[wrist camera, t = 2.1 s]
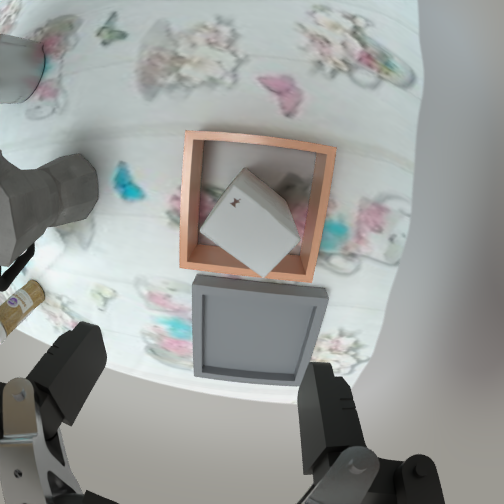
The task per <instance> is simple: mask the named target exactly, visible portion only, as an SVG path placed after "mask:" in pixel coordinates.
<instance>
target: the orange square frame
mask: <svg viewBox="0 0 504 504" xmlns="http://www.w3.org/2000/svg"><path fill="white" fill-rule="evenodd" d="M204 140H215V141H229V142H240V143H251V144H260V145H269V146H277V147H284V148H291V149H298V150H304V151H311V152H316V159H315V166H314V173H313V180H312V186H311V193H310V199H309V205H308V211H307V217H306V223H305V229H304V235H303V240H302V246H301V251H300V256H299V255H290V254H287V255H286V256H285V257H284V258H283V259H282V260H281V261H280V262H279V263H278V264H277V265H276V266H275V267H274V268H273V269H272V270H271V271H270V272H269V273H268V275H267V276H266V277H265V278H269V279H279V280H289V281H298V282H309V283H312V280H313V275H314V271H315V266H316V262H317V257H318V252H319V247H320V242H321V237H322V232H323V227H324V222H325V217H326V211H327V206H328V200H329V194H330V188H331V182H332V176H333V170H334V163H335V156H336V149H337V147H332V146H327V145H321V144H315V143H310V142H303V141H297V140H290V139H283V138H276V137H268V136H259V135H249V134H239V133H226V132H210V131H187V130H185V140H184V153H183V167H182V184H181V206H180V268H184V269H192V270H200V271H208V272H216V273H225V274H233V275H242V276H251V277H260V278H262V277H261V276H260V275H258V274H257V273H256V272H254V271H253V270H252V269H250V268H249V267H247V266H246V265H245V264H243V263H242V262H240V261H239V260H238V259H236V258H235V257H233V256H232V255H231V254H229V253H228V252H226V251H225V250H224V249H222V248H221V247H219V246H210V245H201V244H198V221H199V203H200V187H201V173H202V160H203V148H204Z"/></svg>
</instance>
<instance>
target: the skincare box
mask: <svg viewBox="0 0 504 504" xmlns="http://www.w3.org/2000/svg"><path fill="white" fill-rule="evenodd" d="M200 232H201V233H202V234H203V235H205V236H206V237H207V238H209V239H210V240H211V241H213V242H214V243H215V244H217V245H218V246H220V247H221V248H222V249H224V250H225V251H226V252H228V253H229V254H231V255H232V256H233V257H235V258H236V259H238V260H239V261H240V262H242V263H243V264H245V265H246V266H247V267H249V268H250V269H252V270H253V271H254V272H256V273H257V274H258V275H260V276H261V277H262V278H265V277H266V276H267V275H268V273H269V272H270V271H271V270H272V269H273V268H274V267H275V266H276V265H277V264H278V263H279V262H280V261H281V260H282V259H283V258H284V257H285V256H286V255H287V254H288V253H289V252H290V251H291V250H292V249H293V248H294V247H295V246H296V245H297V244H298V243H299V241H300V236H299V234H298V231H297V228H296V226H295V223H294V220H293V218H292V215H291V212H290V210H289V207H288V205H287V202H286V200H285V199H283V198H282V197H281V196H280V195H279V194H277V193H276V192H275V191H274V190H272V189H271V188H270V187H269V186H268V185H266V184H265V183H264V182H263V181H261V180H260V179H259V178H258V177H256V176H255V175H254V174H252V173H251V172H250V171H249V170H247V169H246V168H243V169H242V171H241V172H240V173H239V174H238V175H237V177H236V178H235V179H234V180H233V182H232V183H231V184H230V185H229V187H228V188H227V189H226V191H225V192H224V193H223V195H222V196H221V197H220V199H219V200H218V202H217V203H216V205H215V206H214V208H213V209H212V211H211V213H210V214H209V216H208V217H207V219H206V220H205V222H204V223H203V225H202V226H201V228H200Z"/></svg>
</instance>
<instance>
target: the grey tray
mask: <svg viewBox="0 0 504 504" xmlns="http://www.w3.org/2000/svg"><path fill="white" fill-rule="evenodd" d="M328 300H329V298H328V295H327V293H326V290H325V288H316V287H306V286H295V285H285V284H276V283H266V282H257V281H248V280H239V279H230V278H222V277H213V276H205V275H196V277H195V279H194V281H193V283H192V333H193V364H194V376H196V377H202V378H209V379H216V380H224V381H232V382H241V383H252V384H264V385H279V386H300V385H301V382H302V379H303V377H304V374H305V371H306V369H307V366H308V364H309V362H310V359H311V356H312V353H313V350H314V347H315V343H316V340H317V337H318V334H319V331H320V327H321V324H322V321H323V317H324V314H325V311H326V307H327V304H328Z"/></svg>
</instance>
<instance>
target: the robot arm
mask: <svg viewBox="0 0 504 504" xmlns="http://www.w3.org/2000/svg"><path fill="white" fill-rule="evenodd" d="M42 46H43V43H39V42H35V41H32V40H28V39H23V38H19V37H15V36H10V35H5V34H0V104H12V103H21V102H23V101H25V100H26V99H27V98H29V96H30V95H31V94H32V93H33V91H34V90H35V88H36V87H37V85H38V83H39V81H40V78H41V76H42V72H43V68H44V53H43V51H42ZM106 361H107V354H106V350H105V346H104V342H103V338H102V334H101V330H100V327H99V326H97V325H94V324H90V323H87V322H84V321H81V322H79V323H78V325H77V326H76V327H75V328H74V329H73V330H72V331H71V330H69V331H67V332H66V333H64V334H62V335H61V336H59V337H58V339H57V340H56V341H55V342H54V343H53V346H51V347H50V348H49V349H48V351H47V353H45V354H44V356H43V357H42V358H41V359H40V361H39V362H38V363H37V364H36V366H35V367H34V369H33V370H32V371H31V372H30V374H29V375H28V376H27V377H26V378H14V379H12V380H10V381H9V382H8V383H7V384H6V383H2V382H0V481H1V486H2V491H3V496H4V500H5V504H118V503H117V502H114V501H112V500H109V499H107V498H104V497H102V496H99V495H97V494H95V493H92V492H90V491H88V490H86V492H85V494H83V493H82V490H81V488H80V485H79V483H78V481H77V480H76V478H75V476H74V475H73V473H72V471H71V469H70V466H69V462H68V458H67V455H66V451H65V447H64V443H63V438H62V434H61V430H60V428H59V426H60V425H61V422H63V423H65V424H68V425H69V426H72V425H73V423H74V421H75V419H76V417H77V415H78V414H79V412H80V410H81V408H82V406H83V404H84V403H85V401H86V399H87V397H88V395H89V394H90V392H91V390H92V388H93V387H94V385H95V383H96V381H97V380H98V378H99V376H100V375H101V373H102V371H103V369H104V368H105V365H106ZM297 401H298V413H299V424H300V436H301V448H302V461H303V474H304V475H311V474H313V479H314V483H313V484H312V485H311V486H310V487H309V488H308V490H307V491H306V492H305V493H304V495H303V496H302V497H301V498H300V499H299V500H298V502H297V503H296V504H445V501H444V497H443V493H442V488H441V484H440V480H439V476H438V473H437V469H436V466H435V464H434V462H433V461H432V460H431V459H430V458H429V457H428V456H425V455H421V454H417V455H413V456H411V457H409V458H408V459H407V460H406V461H395V460H387V459H382V458H379V457H377V455H376V454H375V453H374V452H373V451H372V450H370V449H368V448H367V446H366V444H365V441H364V437H363V433H362V429H361V425H360V421H359V418H358V414H357V411H356V409H355V408H356V406H355V403H354V401H353V396H352V392H351V388H350V386H349V385H348V384H347V382H346V381H345V380H344V379H343V377H334V373H333V369H332V366H331V364H330V363H324V362H309V364H308V366H307V369H306V371H305V374H304V377H303V379H302V382H301V385H300V387H299V391H298V400H297Z"/></svg>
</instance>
